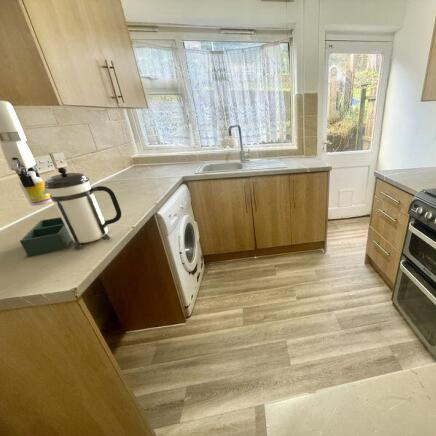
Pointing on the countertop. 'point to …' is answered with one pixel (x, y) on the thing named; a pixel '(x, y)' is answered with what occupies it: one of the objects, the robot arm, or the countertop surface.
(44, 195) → the supplement bottle
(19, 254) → the countertop surface
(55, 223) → the box
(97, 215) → the coffee press
